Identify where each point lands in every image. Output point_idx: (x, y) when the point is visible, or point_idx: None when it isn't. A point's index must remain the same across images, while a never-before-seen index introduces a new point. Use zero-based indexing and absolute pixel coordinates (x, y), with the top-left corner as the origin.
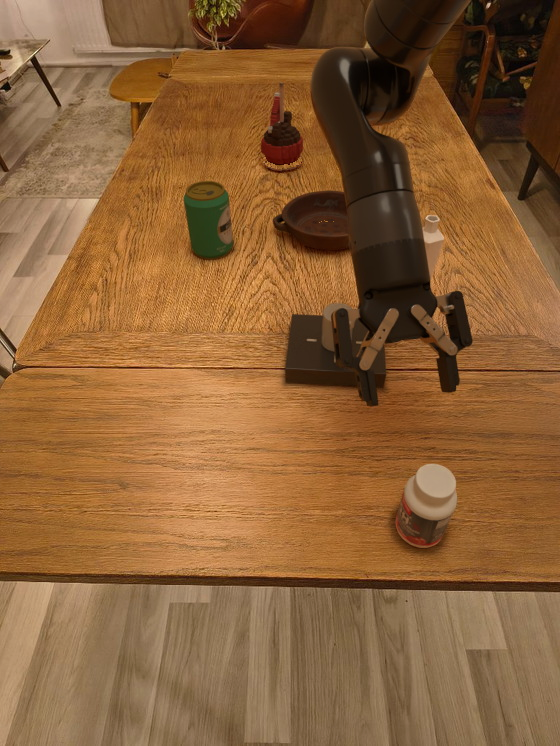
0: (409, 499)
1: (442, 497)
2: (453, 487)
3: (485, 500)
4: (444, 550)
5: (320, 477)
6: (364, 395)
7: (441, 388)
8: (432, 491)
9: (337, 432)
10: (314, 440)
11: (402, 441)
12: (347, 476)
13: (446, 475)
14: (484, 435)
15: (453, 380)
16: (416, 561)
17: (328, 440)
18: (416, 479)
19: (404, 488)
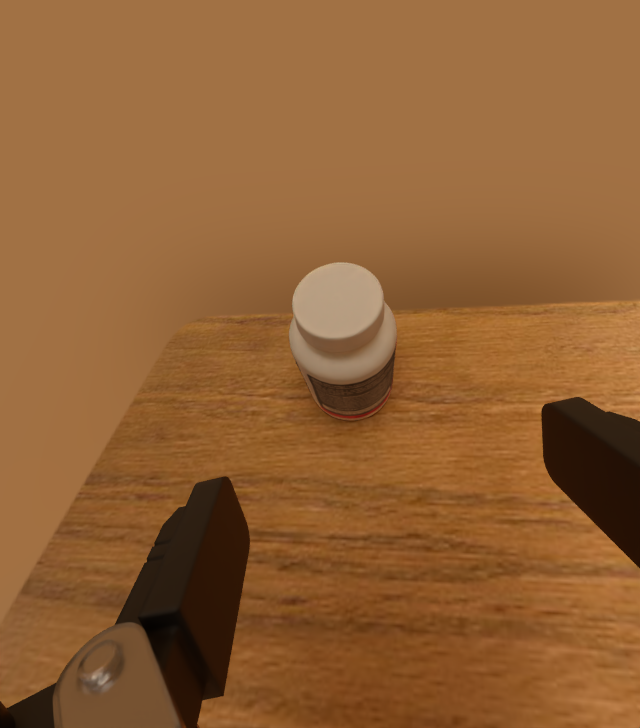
0: (390, 312)
1: (332, 263)
2: (302, 284)
3: (222, 434)
4: None
5: (548, 489)
6: (634, 426)
7: (247, 541)
8: (350, 272)
9: (522, 638)
10: (584, 610)
11: (351, 593)
12: (485, 491)
13: (310, 309)
14: None
15: (192, 507)
16: None
17: (544, 608)
18: (382, 297)
19: (394, 348)
